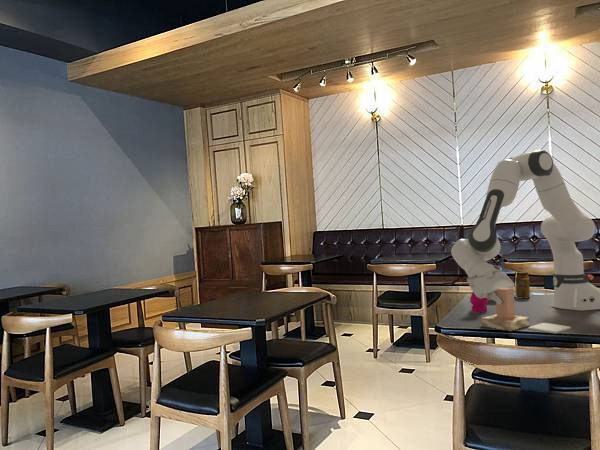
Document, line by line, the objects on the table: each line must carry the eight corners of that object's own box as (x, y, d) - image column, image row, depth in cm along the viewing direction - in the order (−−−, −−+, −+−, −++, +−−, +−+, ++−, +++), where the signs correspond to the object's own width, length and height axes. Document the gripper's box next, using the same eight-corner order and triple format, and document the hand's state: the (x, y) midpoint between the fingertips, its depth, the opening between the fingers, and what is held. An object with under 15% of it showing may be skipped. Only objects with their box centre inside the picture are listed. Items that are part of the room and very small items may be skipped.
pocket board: (500, 320, 192) (500, 313, 192) (529, 325, 182) (529, 317, 182) (481, 326, 185) (481, 318, 185) (510, 331, 175) (510, 322, 175)
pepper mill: (489, 312, 208) (487, 265, 208) (471, 312, 210) (469, 265, 210) (486, 308, 216) (484, 263, 215) (469, 309, 217) (467, 263, 217)
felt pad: (543, 324, 183) (543, 322, 183) (570, 328, 175) (570, 326, 175) (528, 328, 177) (528, 327, 177) (555, 333, 169) (555, 331, 169)
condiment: (533, 296, 238) (532, 271, 238) (526, 299, 232) (525, 273, 232) (518, 295, 243) (516, 271, 243) (510, 298, 237) (509, 273, 237)
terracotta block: (504, 318, 187) (502, 287, 187) (515, 320, 183) (513, 288, 183) (497, 320, 184) (495, 288, 184) (507, 322, 181) (506, 289, 180)
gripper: (469, 272, 183) (494, 301, 175) (502, 265, 195) (527, 292, 187) (460, 283, 187) (484, 312, 179) (493, 276, 198) (517, 303, 191)
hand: (506, 302), depth 183 cm, fingers closed on terracotta block, 4 cm apart
